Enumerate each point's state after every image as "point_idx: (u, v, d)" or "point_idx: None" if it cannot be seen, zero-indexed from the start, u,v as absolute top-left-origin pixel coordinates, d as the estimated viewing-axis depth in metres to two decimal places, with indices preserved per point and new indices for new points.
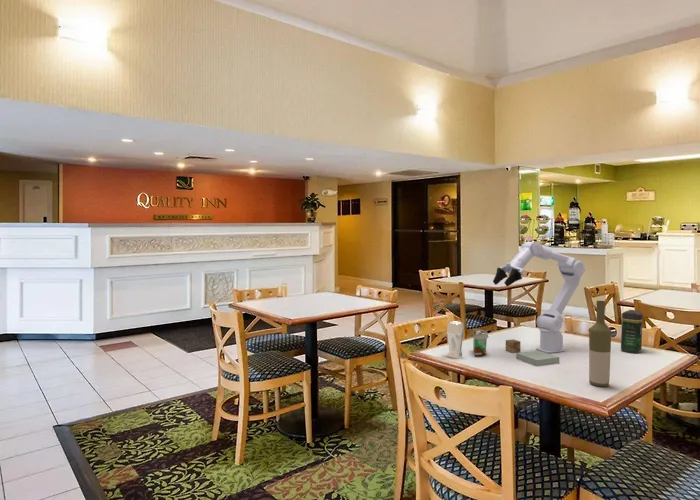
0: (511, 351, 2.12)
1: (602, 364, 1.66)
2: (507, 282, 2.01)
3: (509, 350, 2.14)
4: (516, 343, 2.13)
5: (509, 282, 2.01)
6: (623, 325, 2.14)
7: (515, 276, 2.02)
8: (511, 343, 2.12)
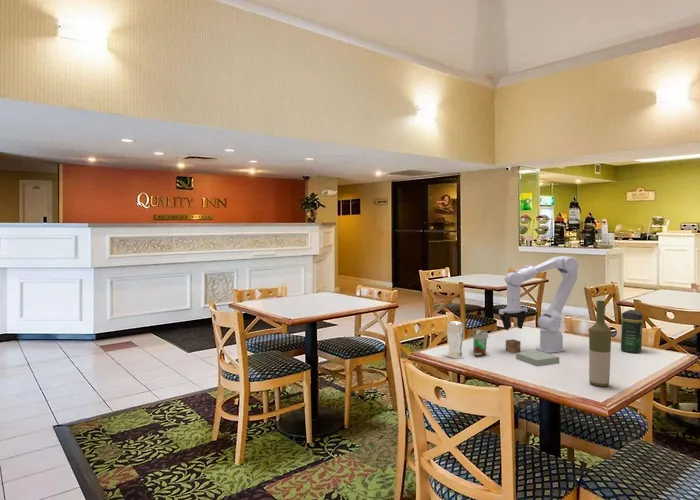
0: (511, 351, 2.12)
1: (602, 364, 1.66)
2: (504, 327, 2.13)
3: (509, 350, 2.14)
4: (516, 343, 2.13)
5: (505, 325, 2.12)
6: (623, 325, 2.14)
7: None
8: (511, 343, 2.12)
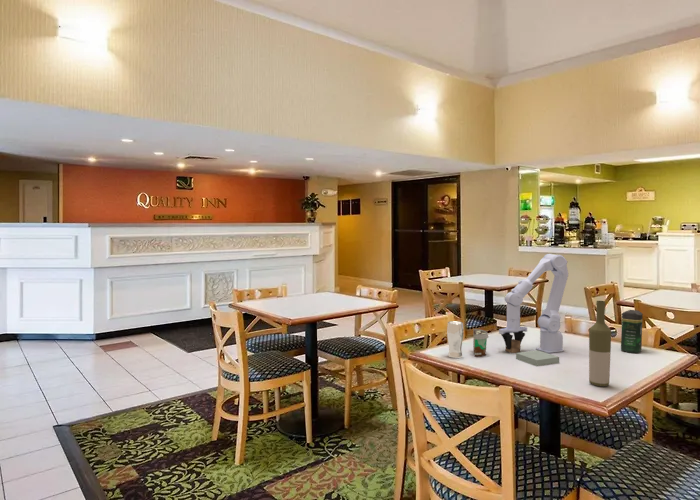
0: (511, 351, 2.12)
1: (602, 364, 1.66)
2: (506, 346, 2.14)
3: (509, 350, 2.14)
4: (516, 343, 2.13)
5: (508, 345, 2.13)
6: (623, 325, 2.14)
7: None
8: (511, 343, 2.12)
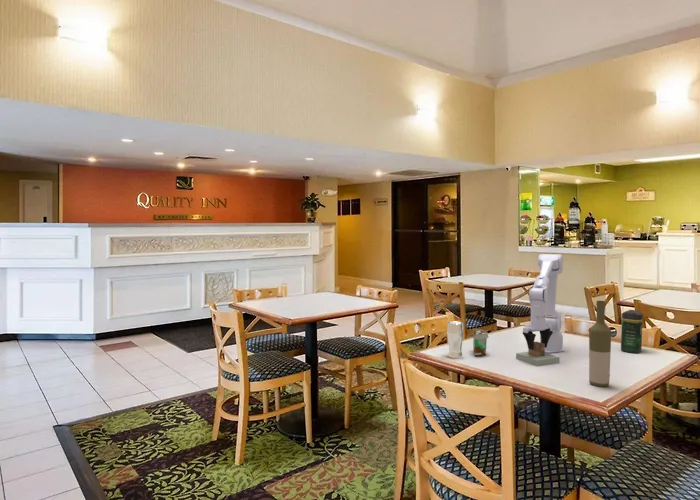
0: (535, 354, 1.98)
1: (602, 364, 1.66)
2: (529, 346, 1.98)
3: (533, 353, 1.99)
4: (540, 346, 1.98)
5: (530, 344, 1.97)
6: (623, 325, 2.14)
7: None
8: (535, 346, 1.97)
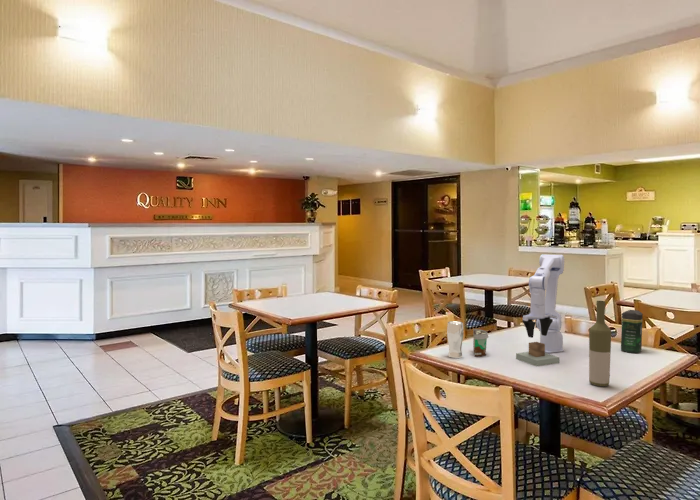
0: (535, 354, 1.97)
1: (602, 364, 1.66)
2: (528, 334, 1.98)
3: (533, 353, 1.99)
4: (540, 346, 1.98)
5: (530, 332, 1.97)
6: (623, 325, 2.14)
7: None
8: (535, 346, 1.97)
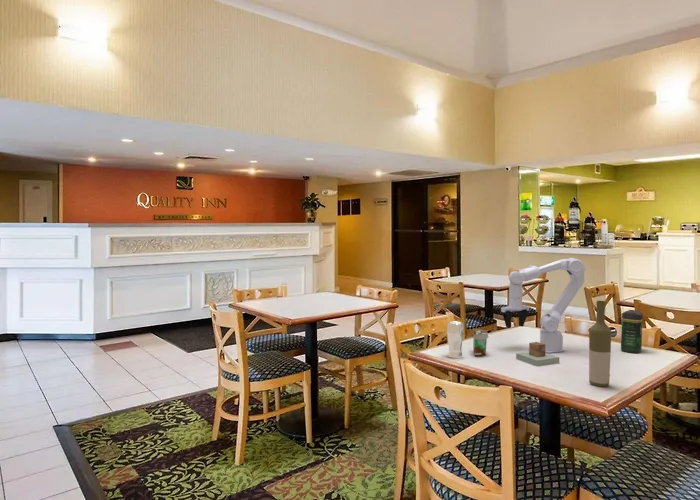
0: (536, 355, 1.97)
1: (602, 364, 1.66)
2: (506, 325, 2.18)
3: (533, 354, 1.98)
4: (541, 346, 1.97)
5: (507, 323, 2.17)
6: (623, 325, 2.14)
7: None
8: (536, 346, 1.97)
